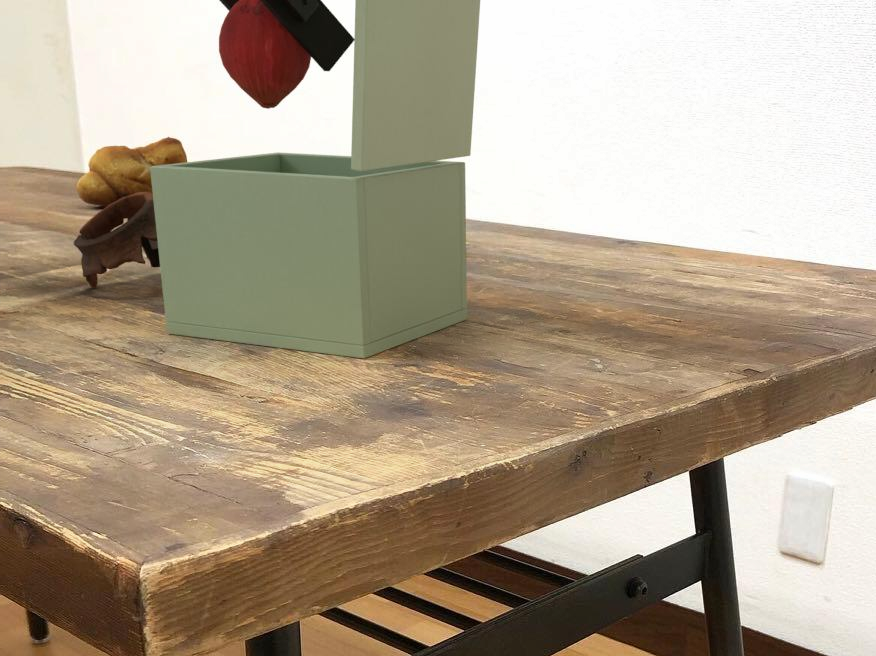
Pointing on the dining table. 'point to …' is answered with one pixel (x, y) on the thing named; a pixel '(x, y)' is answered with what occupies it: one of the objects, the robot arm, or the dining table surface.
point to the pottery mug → (119, 236)
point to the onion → (261, 53)
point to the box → (311, 251)
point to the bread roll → (126, 170)
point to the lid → (413, 81)
